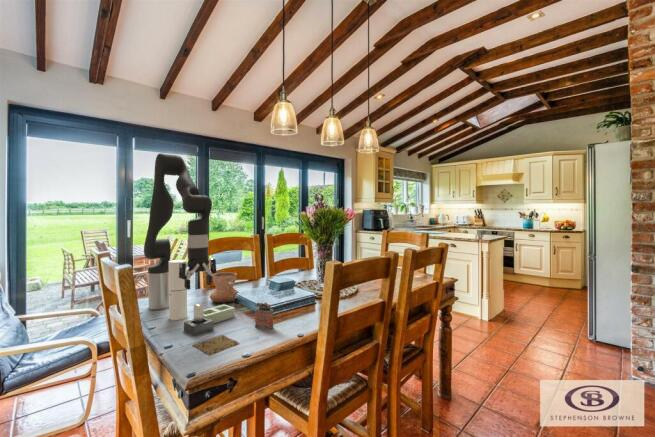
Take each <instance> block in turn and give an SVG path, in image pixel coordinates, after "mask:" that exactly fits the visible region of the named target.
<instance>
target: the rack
mask: <svg viewBox="0 0 655 437" xmlns="http://www.w3.org/2000/svg"><path fill="white" fill-rule="evenodd" d="M235 309H236V308H235V307H233V306H230V305H227V304H226V303H223V304H219V305H216V306H213V307H209V308H206V309H204V317H206V318H208V319H210V320H213V321H214V324H215V323H219V322H223V321H225V320H229V319H232V318H234V317H236V316H235V313H236V312H235V311H236V310H235Z"/></svg>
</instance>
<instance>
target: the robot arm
mask: <svg viewBox="0 0 655 437" xmlns="http://www.w3.org/2000/svg"><path fill="white" fill-rule="evenodd" d="M165 176H177V177H178V178H177V180H176V182H175V188H176V190H177V192H178V194H179V195H180V197H181V200H182V208H183V210H184V211H185V212H186V213H189V214H199V215H198V217H197V218H193V219H191V220H188V223H187V263H180V264H179V278H181V279H184V287H185V288H186V289H187V291H188V290H189V291H190V290H191V277H192V276H193V275H194V274H195V273H199V272H204V274H206V275H205V278H206V279H205V280H206V281H205V282H206V285H207V286H210V285H211V284H212V283H213V277H212V275H213V274H215V273H217V263H216V262H217V261H216V258H210V259H209V236H208V224H209V223H208V222H209V218H210V215H211V211H212V207H213V203H212V202H213V201H212V199H211V198H210V197H209V196H208V195H205V194H204V195H203V194H201V195H200V190H199V188H198V187H197V186H196V184H195V182H194V181H193V179H192V178H191V175H190V172H189V169H188V167H187V165H186V162H185V160H184V159H183V157H181V155H178V154H177V155H176V154H170V153H158V154H157V155H156V157H155V162H154V174H153V178H154V179H153V190H152V194H151V195H152V196H151V202H150V209H149V220H148V228H147V232H146V236H145V240H144V245H143V254H144V255H143V256H144V257H145V259H148V260H153V259H159V260H158V261H157V262H155V263H154V264H152V265H149V266H148V268H147V276H148V277H147V280H148V282H147V283H148V285H147V286H148V287H147V288H148V291H147V292H148V310H153V311H154V310H155V311H156V310H163V309H167V308H169V261H171V252H172V250H171V249H172V248H171V247H172V246H171V242H170V240H169V239H168V238H159V239H158V238H157V237H158V235H159V234H160V231H162V229H163V228H164V227H165V226H166V225H167V224H168V222H169V221H171V218H172V216H173V211H174V206H175V204H174V199H173V198H172V196H171V194H170V192H169V191H168V189H167V187H166V184H165ZM208 265H209V267H208ZM187 267H188V268H187ZM186 268H187V272H186V274H185V270H186Z"/></svg>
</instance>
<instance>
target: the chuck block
mask: <svg viewBox="0 0 655 437" xmlns="http://www.w3.org/2000/svg"><path fill="white" fill-rule="evenodd" d="M214 324H215V323H214V321H213V320H210V319H208V318H206V317H204V322H203V323H200V324H197V325H196V324H194V318H192V319H189V320H185V321H183V331H184V332H186V333H188V334H190V335H192V336H194V337H196V336H199V335H202V334H204V333H207V332H210V331H214V328H215V326H214Z"/></svg>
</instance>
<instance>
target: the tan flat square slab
mask: <svg viewBox="0 0 655 437" xmlns="http://www.w3.org/2000/svg"><path fill="white" fill-rule="evenodd" d="M238 345H240V343H239V342H238V341H237V340H234V339H232V338H229V337H228V336H226V335H224V334H221V335H218V336H217V335H216V336H215V337H212V338H210V339H209V338H208V339H205V340H203V341H200V342H197V343H194V344H192V345H191V346H192V347H193V348H195V349H197V350H198V351H200V352H202V353H204V354H205V355H208V356H213V355H214V354H217V353H218V354H219V353H220V352H223V351H225V350H228V349H230V348H232V347H235V346H238Z"/></svg>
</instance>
